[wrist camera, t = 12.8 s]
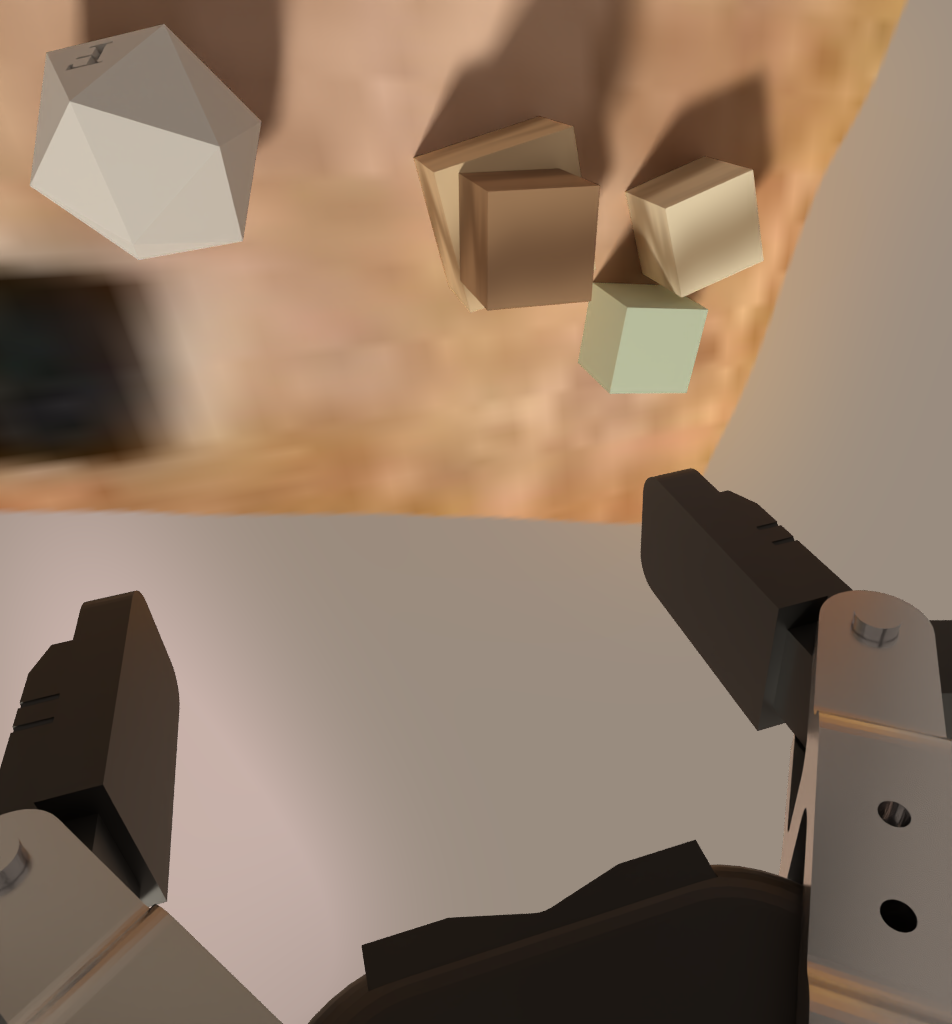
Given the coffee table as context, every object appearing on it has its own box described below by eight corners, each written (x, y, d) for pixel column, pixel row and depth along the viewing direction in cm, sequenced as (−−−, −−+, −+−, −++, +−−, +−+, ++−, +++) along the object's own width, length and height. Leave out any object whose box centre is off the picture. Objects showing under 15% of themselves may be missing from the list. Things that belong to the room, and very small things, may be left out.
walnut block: (458, 173, 36) (487, 191, 32) (559, 168, 37) (600, 185, 33) (460, 280, 39) (487, 310, 35) (554, 273, 40) (591, 301, 36)
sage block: (591, 282, 46) (627, 307, 42) (666, 284, 48) (708, 309, 44) (577, 362, 49) (609, 393, 45) (649, 362, 50) (686, 393, 46)
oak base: (412, 157, 40) (433, 172, 36) (538, 115, 41) (573, 126, 37) (447, 286, 44) (470, 312, 40) (562, 246, 45) (596, 269, 41)
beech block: (624, 191, 44) (665, 208, 40) (704, 155, 44) (752, 169, 40) (641, 273, 47) (681, 297, 43) (716, 240, 47) (763, 260, 43)
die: (279, 79, 37) (157, -53, 27) (303, 268, 38) (192, 205, 28) (119, 114, 39) (-49, 0, 29) (145, 295, 39) (-12, 244, 30)
